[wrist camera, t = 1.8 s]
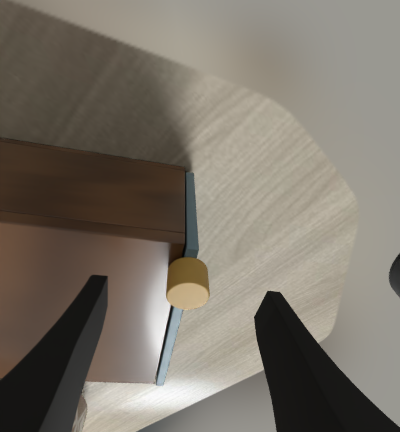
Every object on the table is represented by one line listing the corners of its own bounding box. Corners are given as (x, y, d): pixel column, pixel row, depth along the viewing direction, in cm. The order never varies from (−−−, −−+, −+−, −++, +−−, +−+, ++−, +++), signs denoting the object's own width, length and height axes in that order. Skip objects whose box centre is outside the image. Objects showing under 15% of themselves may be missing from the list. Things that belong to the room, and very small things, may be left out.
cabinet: (184, 166, 19) (185, 243, 13) (161, 295, 28) (154, 384, 21) (-23, 133, 17) (-157, 203, 10) (19, 283, 26) (-42, 377, 19)
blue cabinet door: (203, 174, 19) (216, 277, 11) (175, 299, 28) (171, 410, 20) (176, 169, 19) (170, 272, 11) (155, 297, 27) (144, 409, 19)
